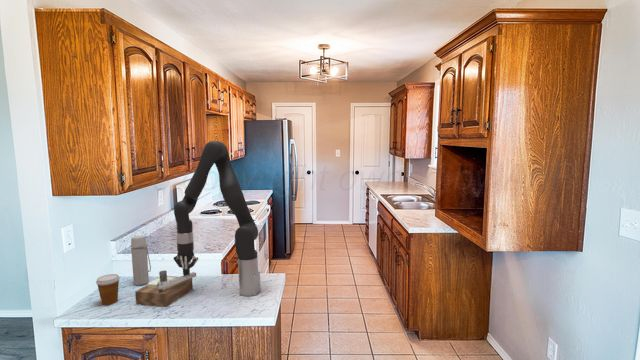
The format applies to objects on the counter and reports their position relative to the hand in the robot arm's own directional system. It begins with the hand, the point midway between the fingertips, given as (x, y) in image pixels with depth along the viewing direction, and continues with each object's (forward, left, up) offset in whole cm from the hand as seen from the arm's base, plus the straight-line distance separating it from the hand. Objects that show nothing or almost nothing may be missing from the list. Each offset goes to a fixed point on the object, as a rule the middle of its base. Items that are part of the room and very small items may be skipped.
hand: (186, 275), depth 176 cm
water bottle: (+31, -7, -8) cm, 33 cm away
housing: (+7, +7, -8) cm, 13 cm away
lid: (+8, +6, -2) cm, 11 cm away
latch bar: (0, +7, 0) cm, 7 cm away
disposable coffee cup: (+29, +17, -8) cm, 35 cm away
